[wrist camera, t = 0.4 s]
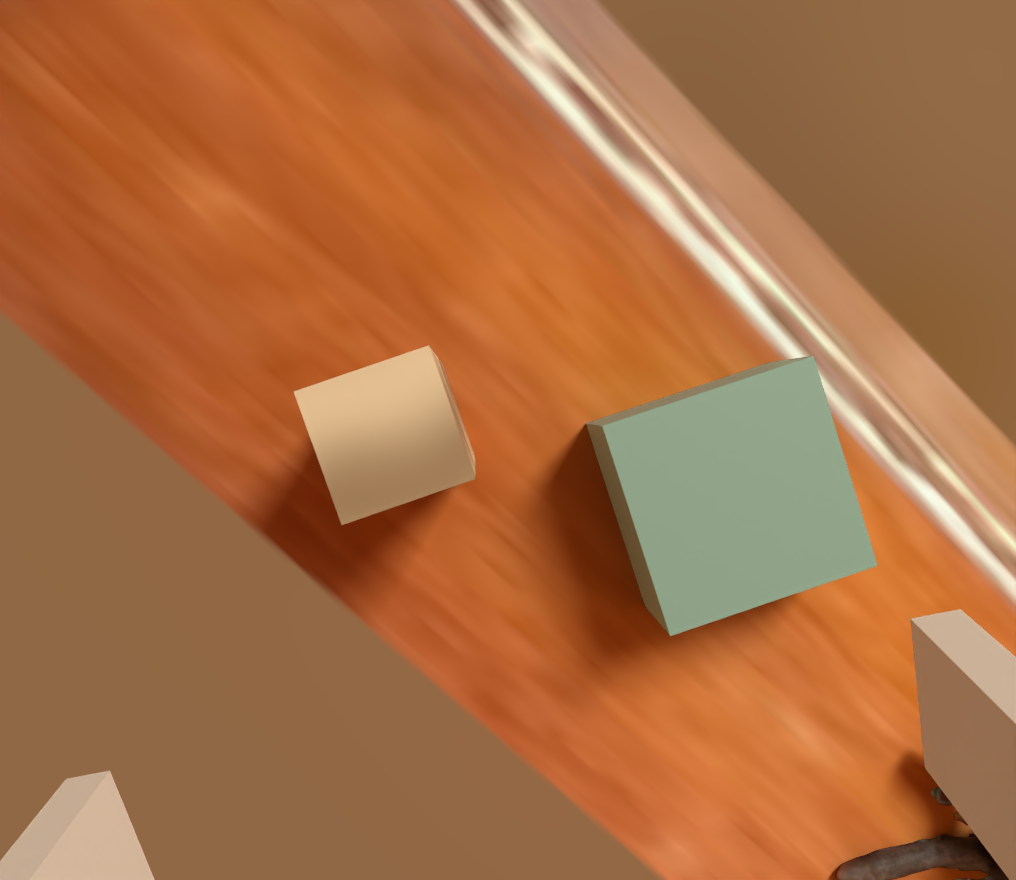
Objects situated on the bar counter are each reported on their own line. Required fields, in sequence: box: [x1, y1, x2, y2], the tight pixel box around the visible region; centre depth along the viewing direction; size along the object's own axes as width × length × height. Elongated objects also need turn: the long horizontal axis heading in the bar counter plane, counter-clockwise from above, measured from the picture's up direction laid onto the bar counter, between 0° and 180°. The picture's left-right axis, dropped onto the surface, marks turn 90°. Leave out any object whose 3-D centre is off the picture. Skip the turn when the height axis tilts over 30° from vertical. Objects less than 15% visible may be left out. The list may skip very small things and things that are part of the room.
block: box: [294, 346, 475, 525], centre depth 31 cm, size 4×4×11 cm
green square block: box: [586, 356, 878, 636], centre depth 35 cm, size 9×9×5 cm
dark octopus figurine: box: [837, 787, 1009, 880], centre depth 38 cm, size 12×10×12 cm
